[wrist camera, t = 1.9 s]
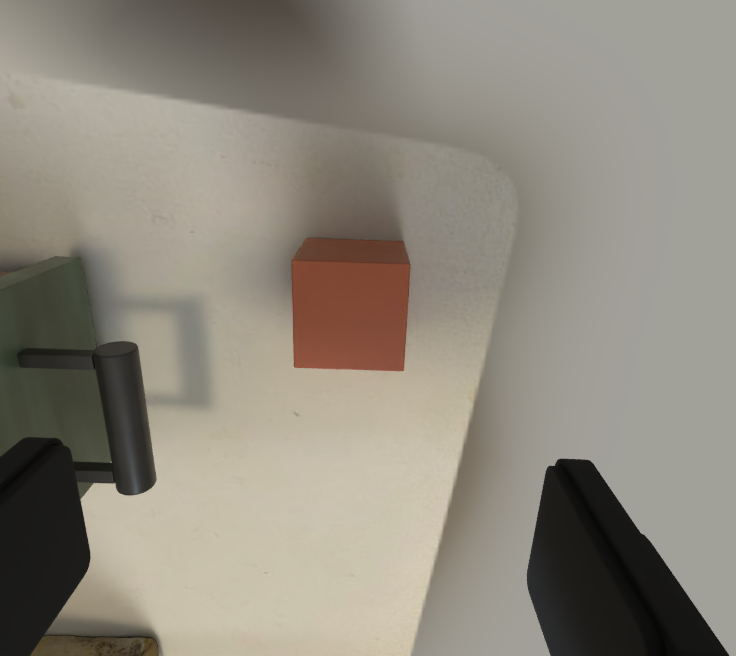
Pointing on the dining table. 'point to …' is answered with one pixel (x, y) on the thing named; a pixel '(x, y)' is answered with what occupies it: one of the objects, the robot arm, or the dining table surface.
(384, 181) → the dining table surface
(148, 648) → the rock
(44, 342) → the drawer
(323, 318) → the block
